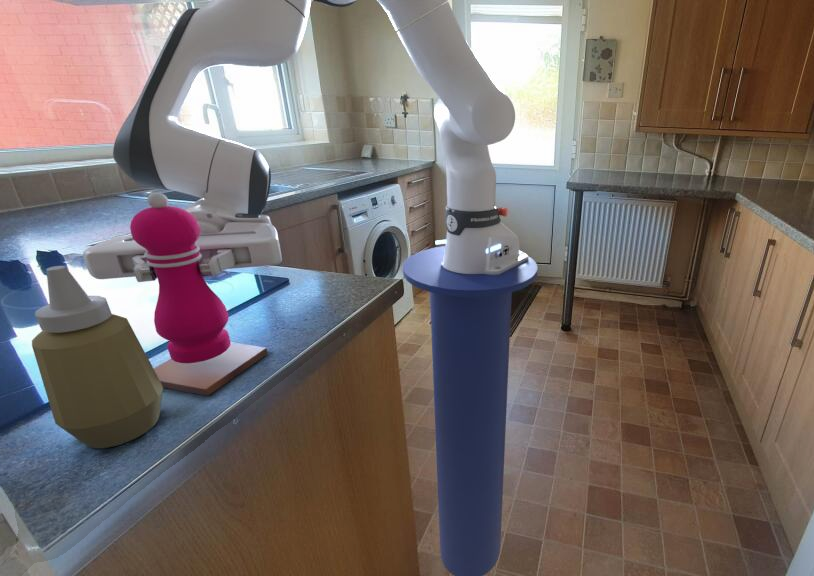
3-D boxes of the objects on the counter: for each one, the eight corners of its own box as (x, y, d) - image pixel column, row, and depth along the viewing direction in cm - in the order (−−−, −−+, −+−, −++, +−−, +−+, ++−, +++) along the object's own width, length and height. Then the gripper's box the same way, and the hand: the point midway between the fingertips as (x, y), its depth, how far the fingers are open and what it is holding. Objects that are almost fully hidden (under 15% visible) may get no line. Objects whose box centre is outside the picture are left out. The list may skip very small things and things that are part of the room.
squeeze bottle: (116, 465, 38) (37, 290, 31) (45, 451, 40) (-47, 280, 33) (191, 409, 46) (141, 257, 39) (129, 399, 47) (70, 250, 40)
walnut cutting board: (209, 344, 58) (207, 338, 58) (268, 353, 57) (266, 347, 56) (140, 383, 50) (137, 376, 49) (207, 396, 48) (205, 389, 48)
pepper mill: (214, 331, 57) (174, 184, 49) (247, 345, 54) (210, 192, 46) (153, 355, 51) (96, 193, 43) (187, 372, 48) (132, 202, 40)
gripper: (104, 221, 54) (44, 254, 42) (280, 214, 61) (271, 240, 50) (120, 266, 56) (67, 309, 44) (287, 254, 64) (280, 287, 52)
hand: (176, 272), depth 47 cm, fingers closed on pepper mill, 5 cm apart
